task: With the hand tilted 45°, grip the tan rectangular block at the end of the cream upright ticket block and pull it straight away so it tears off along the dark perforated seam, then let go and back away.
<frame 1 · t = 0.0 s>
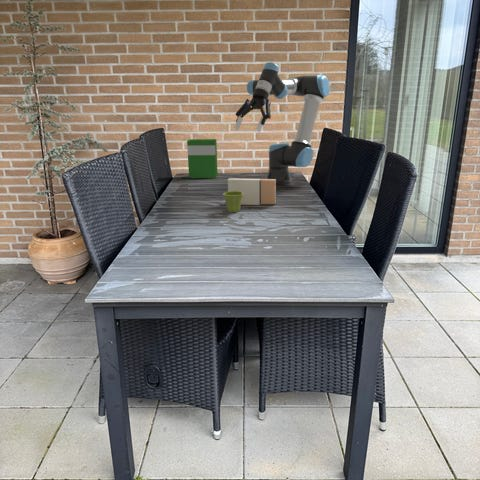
hand: (247, 129, 219), 36 cm above the table, tool tilted 35°, fingers open, 13 cm apart
plant pot: (233, 211, 214), on the table
hardback book: (203, 177, 292), on the table
ticket block: (244, 203, 226), on the table
tan rectangular block: (268, 191, 222), point 6 cm above the table, slide at 0.0 cm
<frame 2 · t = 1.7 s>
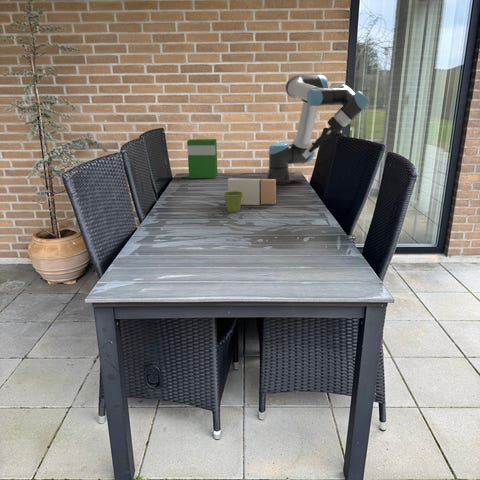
hand: (305, 155, 213), 25 cm above the table, tool tilted 45°, fingers open, 13 cm apart
nothing on the table moved.
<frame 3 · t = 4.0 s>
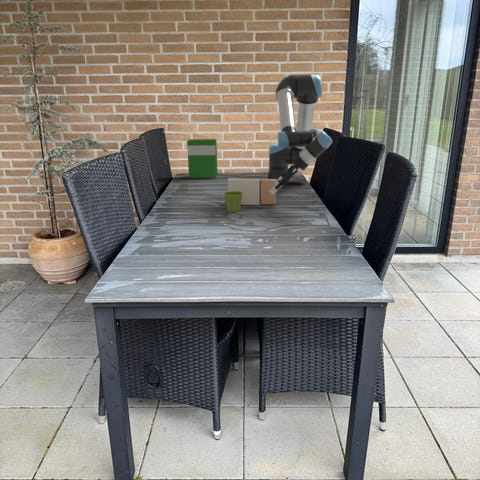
hand: (272, 189, 220), 8 cm above the table, tool tilted 45°, fingers open, 13 cm apart
nothing on the table moved.
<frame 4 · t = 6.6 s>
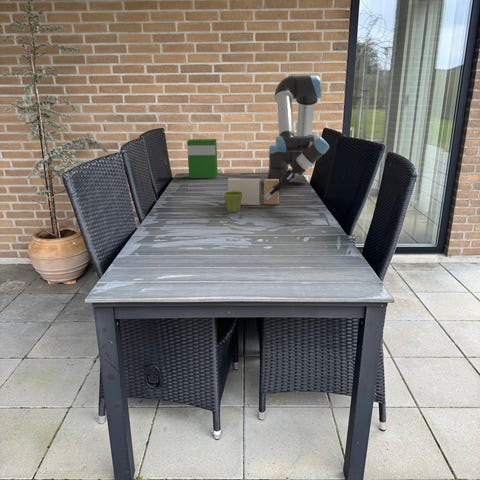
hand: (266, 197, 223), 4 cm above the table, tool tilted 45°, fingers open, 3 cm apart
tan rectangular block: (271, 191, 222), point 6 cm above the table, slide at 1.6 cm, touching gripper
everything else where it was.
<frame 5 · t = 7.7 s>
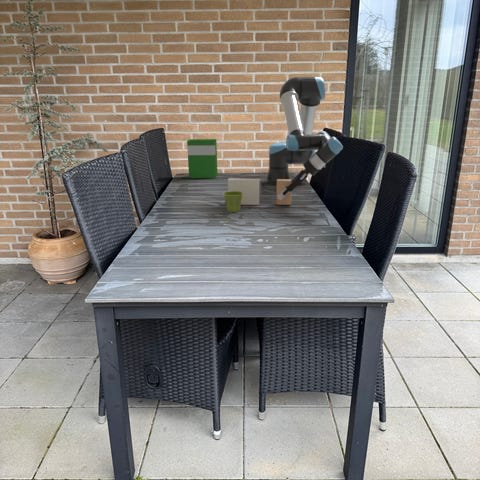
hand: (279, 197, 222), 4 cm above the table, tool tilted 45°, fingers closed on tan rectangular block, 3 cm apart
tan rectangular block: (284, 192, 221), point 6 cm above the table, slide at 7.8 cm, touching gripper
everything else where it was.
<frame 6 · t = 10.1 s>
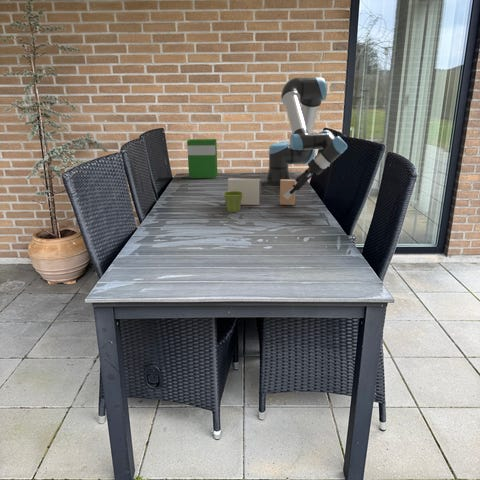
hand: (286, 194, 221), 5 cm above the table, tool tilted 45°, fingers open, 13 cm apart
tan rectangular block: (287, 192, 220), point 6 cm above the table, slide at 9.5 cm
everything else where it was.
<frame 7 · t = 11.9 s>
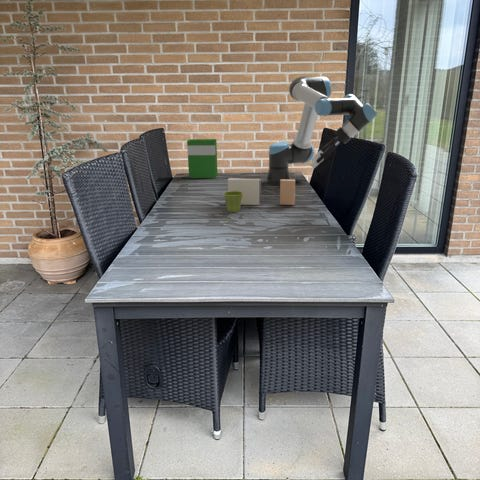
hand: (312, 163, 216), 20 cm above the table, tool tilted 45°, fingers open, 13 cm apart
nothing on the table moved.
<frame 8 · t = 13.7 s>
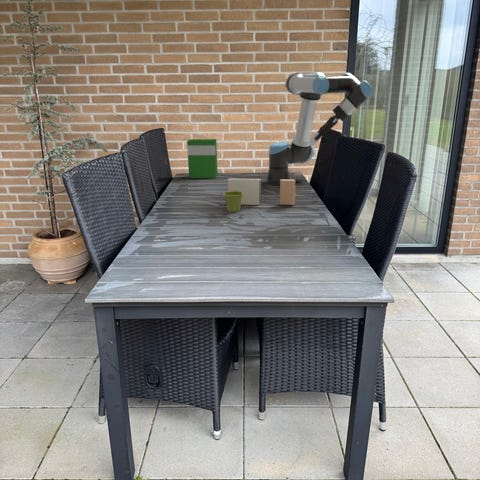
hand: (310, 142, 217), 30 cm above the table, tool tilted 45°, fingers open, 13 cm apart
nothing on the table moved.
at the end: tan rectangular block slide at 9.5 cm; the gripper is holding nothing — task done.
